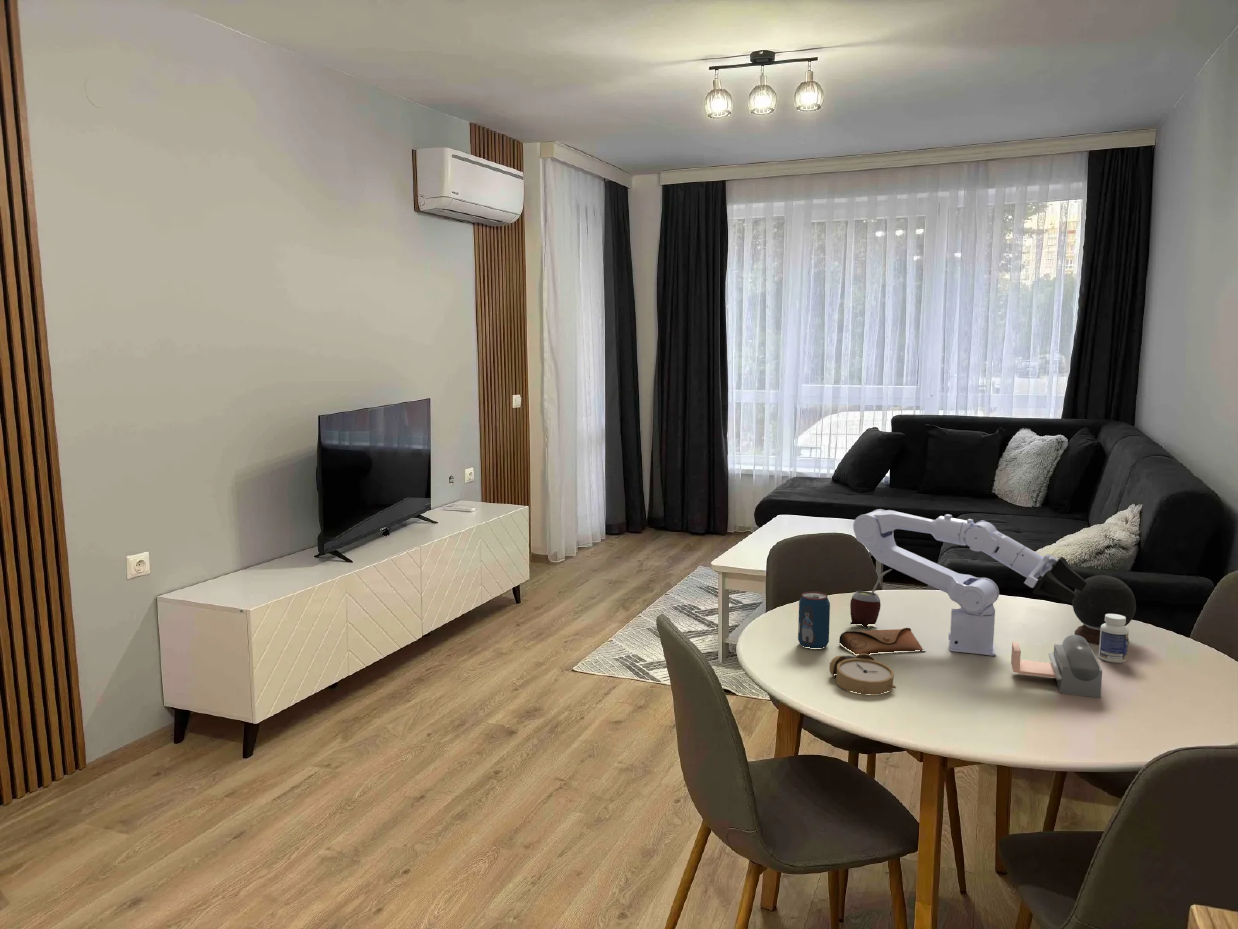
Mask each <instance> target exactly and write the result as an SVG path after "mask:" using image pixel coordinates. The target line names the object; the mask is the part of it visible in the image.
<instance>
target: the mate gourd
mask: <svg viewBox="0 0 1238 929" xmlns="http://www.w3.org/2000/svg"><path fill="white" fill-rule="evenodd" d="M892 570H893V568H890V569H888V570H885V571H883V572H882V573H881V574H880V575H878V577H877V580H876V583H875V585H874V586H873V588H872V590H871V592H870V591H864V590H863V591H862V590H856V591H855V592H854V593H853V595H852V596H851V599H850V604H849V606H850V608H849V609H850V611H849V612H850V619H851V621H850V625H851V624H862V625H863V626H864V627H865V628H864V627H863V626H862V627H863V628H864V629H869V626H867V625H868V624H876V623H877V620H878V618H879V614H880V610H881V599H880V597H879V594H878V593H876V592H875V591H876V589H877V587H878V585H879V583H880V581H881V580H882V578H883V576H885V575H886V574H887V573H890V572H891V571H892Z"/></svg>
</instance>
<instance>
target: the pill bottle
mask: <svg viewBox="0 0 1238 929" xmlns="http://www.w3.org/2000/svg"><path fill="white" fill-rule="evenodd" d="M1105 622H1106V623H1104V624H1102V625H1101V628H1100V643H1099V645H1098V658H1100V659H1101V660H1102V661H1105V662H1108V663H1109V662H1110V663H1115V664H1117V663H1118V664H1120V663H1126V662H1127V655H1128V647H1129V646H1128V644H1129V641H1128V639H1129V632H1130V631H1129V629H1128V627H1127V625H1126V626H1124V625H1125V623H1126V617H1124V616H1122V615H1118V614H1106V615H1105Z"/></svg>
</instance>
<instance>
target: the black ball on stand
mask: <svg viewBox="0 0 1238 929" xmlns="http://www.w3.org/2000/svg"><path fill="white" fill-rule="evenodd" d="M1084 580H1085V581H1086V582H1087V585H1086V586H1085V588H1084V590H1083V591H1080V590H1077V589H1075V588H1074V591H1073V592H1074V593H1075V594H1076V596H1075V598H1074V599H1073V601H1072V602H1071V604H1072V608H1073V609H1072V610H1073V612H1074V614H1075V616H1076V618H1077V619H1078V620H1079V622H1080V623H1082V625H1079V626H1078V627H1077V628H1076V629H1075V630H1074V634H1073V635H1079V636H1082V637H1083V638H1085V639H1086V641H1087V642H1088V644H1093V645H1097V646H1099V643H1100V628H1101V625H1102V624H1104V623H1106V622H1105V615H1106V614H1118V615H1122V616H1124V617H1126V623H1125V625H1124V626H1126V627H1127V625H1129V624H1130V623H1131V622H1132V620H1133V618H1134V616H1135V614H1136V610H1137V602H1136V597H1135V595H1134V593H1133V591H1132V589H1131V588H1130V586H1128V585H1127V584H1126V583H1125V582H1124V581H1122V580H1121V579H1119V578H1118V577H1115V576H1111V575H1106V574H1100V575H1099V574H1098V575H1097V574H1096V575H1093V576H1090V577H1087V578H1085V579H1084ZM1128 642H1129V638H1128Z"/></svg>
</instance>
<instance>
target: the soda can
mask: <svg viewBox="0 0 1238 929" xmlns="http://www.w3.org/2000/svg"><path fill="white" fill-rule="evenodd" d="M830 615H831V601H830V600H829V598H828V594H827V593H824V592H821V591H806V592H802V593H801V597H800V599H799V600H798V622H797V623H798V628H797V630H798V631H797V640H798V642H799V644H801V645H802V646H804V647H810V648H823V647H825V648H826V647H827V646H828V644H829V642H830V623H831V620H830V619H831V618H830ZM801 645H800V646H801ZM802 646H801V647H802Z"/></svg>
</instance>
